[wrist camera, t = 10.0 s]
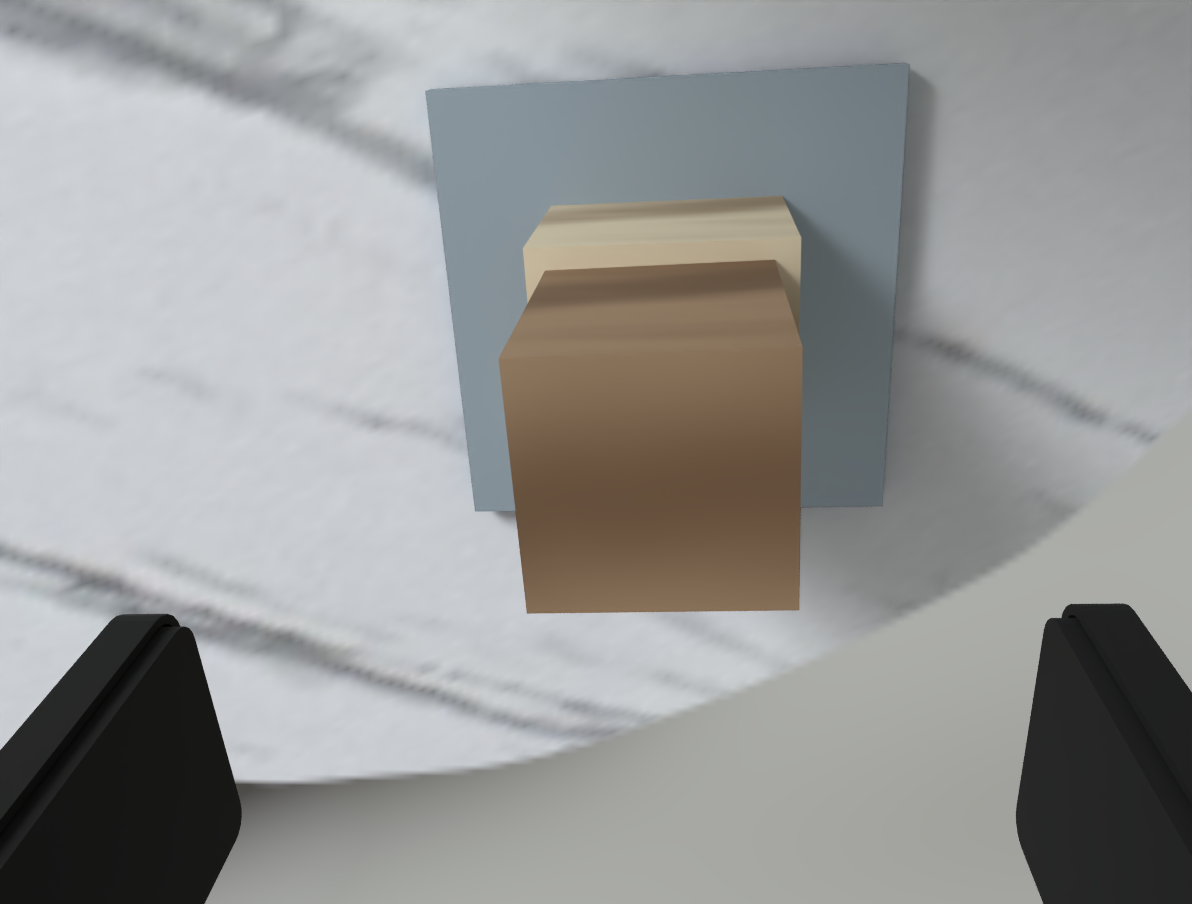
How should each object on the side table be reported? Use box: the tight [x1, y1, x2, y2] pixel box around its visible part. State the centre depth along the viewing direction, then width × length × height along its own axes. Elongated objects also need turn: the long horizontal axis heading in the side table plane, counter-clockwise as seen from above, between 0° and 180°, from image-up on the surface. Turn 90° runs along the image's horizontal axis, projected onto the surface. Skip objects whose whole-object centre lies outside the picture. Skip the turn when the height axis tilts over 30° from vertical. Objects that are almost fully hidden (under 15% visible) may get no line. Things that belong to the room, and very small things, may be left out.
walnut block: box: [498, 260, 803, 613], centre depth 21 cm, size 5×5×6 cm
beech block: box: [523, 196, 801, 334], centre depth 26 cm, size 6×6×5 cm
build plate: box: [425, 63, 910, 511], centre depth 28 cm, size 12×12×1 cm
